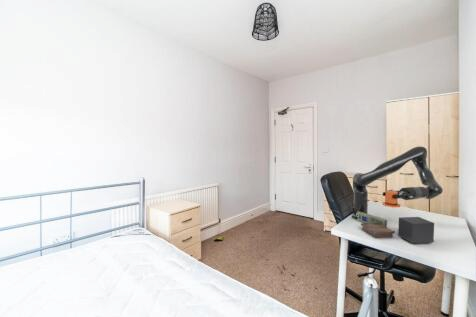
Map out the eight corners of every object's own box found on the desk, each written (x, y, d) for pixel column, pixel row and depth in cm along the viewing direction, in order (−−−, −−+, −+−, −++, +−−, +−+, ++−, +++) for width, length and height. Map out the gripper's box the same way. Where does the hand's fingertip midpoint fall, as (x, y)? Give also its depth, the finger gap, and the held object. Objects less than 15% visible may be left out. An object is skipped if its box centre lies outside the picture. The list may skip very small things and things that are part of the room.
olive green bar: (384, 230, 138) (350, 218, 161) (387, 229, 139) (353, 217, 162) (384, 220, 138) (350, 209, 161) (387, 219, 139) (353, 209, 162)
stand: (360, 229, 141) (360, 223, 141) (378, 228, 141) (378, 222, 141) (374, 238, 127) (374, 232, 127) (394, 237, 127) (394, 231, 127)
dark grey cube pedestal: (397, 236, 129) (398, 217, 128) (417, 236, 129) (418, 216, 128) (412, 244, 118) (412, 223, 118) (433, 244, 118) (434, 223, 118)
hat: (378, 203, 134) (379, 190, 134) (393, 202, 134) (393, 190, 134) (389, 207, 125) (389, 193, 125) (404, 207, 125) (404, 193, 125)
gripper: (422, 202, 125) (398, 204, 122) (399, 196, 139) (377, 198, 136) (423, 189, 125) (399, 191, 121) (399, 185, 139) (377, 186, 136)
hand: (388, 195), depth 129 cm, fingers closed on hat, 6 cm apart
